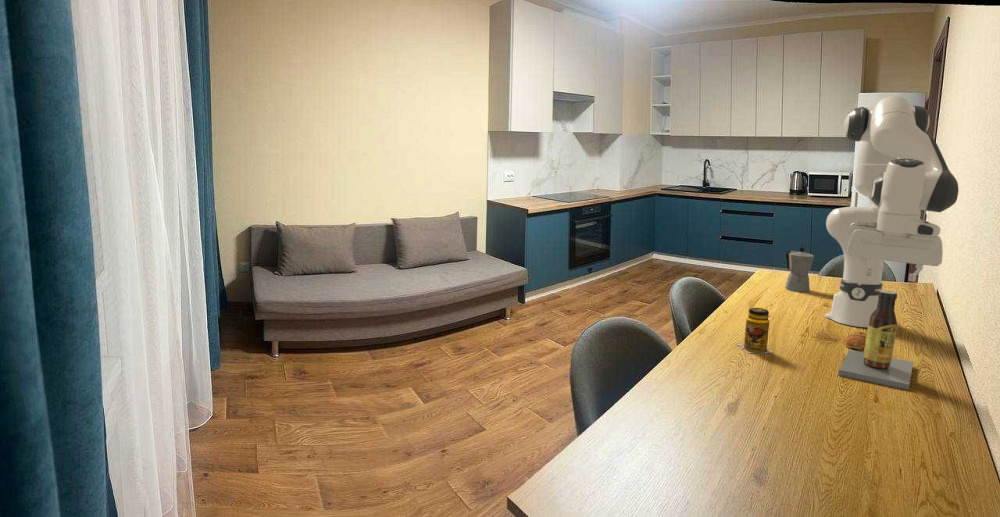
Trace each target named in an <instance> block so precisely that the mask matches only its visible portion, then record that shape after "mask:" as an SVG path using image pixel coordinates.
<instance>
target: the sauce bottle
mask: <svg viewBox="0 0 1000 517" xmlns="http://www.w3.org/2000/svg"><path fill="white" fill-rule="evenodd" d="M878 297H879V299H878V305H877V309H876V310H875V311H874V312H873V313H872V314H871V316H870V322H869V325H868V327H867V330H866V331H867V332H866V334H867V337H866V343H865V349H863V352H864V361H863V362H864V364H865V365H868V366H870V367H874V368H882V369H886V368H888V367H889V366H890V363H891V361H892V358H893V353H894V348H895V341H896V336H897V330H898V321H897V316H896V313H895V309H896V308H895V306H896V300H897V298H898V293H897V292H895V291H893V290H891V291H890V290H883V289H882V290H881V291H879V293H878Z"/></svg>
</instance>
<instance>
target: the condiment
mask: <svg viewBox="0 0 1000 517" xmlns="http://www.w3.org/2000/svg"><path fill="white" fill-rule="evenodd" d="M769 313H770V312H769V310H768V309H767V308H766V309H765V308H762V307H751V308H749V309H748V314H747V317H746V322H745V329H744V330H745V331H744V342H743V343H735V344H736V345H737V346H739V348H740V349H742V348H743V346H744V349H742V350H743V351H745V350H746V351H745V352H746V353H748V354H774V353H773V351H772V350H770V349H768V339H769V330H770V328H769V327H770V320H769V317H770V316H769ZM747 351H748V352H747Z"/></svg>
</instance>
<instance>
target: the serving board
mask: <svg viewBox="0 0 1000 517" xmlns="http://www.w3.org/2000/svg"><path fill="white" fill-rule="evenodd" d="M863 361H864V351H860V350H853V349H848V352H847V354H846V355H845V357H844V359H843V361H842V363H841V364H840V367H839V369H838V374H837V376H839V377H845V378H848V379H854V380H858V381H864V382H867V383H872V384H877V385H882V386H887V387H892V388H895V389H901V390H904V391H905V390H906V391H909V389H910V383H911V379H912V372H913V366H914V361H911V360H910V361H909V360H906V359H900V358H895V357H892V361H891V363H890V366H889V367H888V368H886V369H882V368H874V367H870V366H868V365H865V364H864V362H863Z"/></svg>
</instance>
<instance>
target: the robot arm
mask: <svg viewBox="0 0 1000 517" xmlns="http://www.w3.org/2000/svg"><path fill="white" fill-rule="evenodd" d="M930 120H931V118H930V114H929V111H928V110H927V108H926V107H924V106H919V105H912V106H911V104H910V102H909V101H908V99H906V98H904V97H902V96H898V95H892V96H886V97H885V98H882V99H880V100H879V101H878V102H877V103H876V104H875V105H874V106H868V107H865V106H860V107H855V108H853V109H851V110H849V111H848V114H847V116H846V117H845V120H844V123H843V130H844V133H845V137H846V138H847V140H850V141H853V142H860V141H861V144H860V147H859V152H858V154H857V155H858V156H857V162H856V168H855V169H856V170H855V178H854V186H855V189H856V191H858V193H860V194H862V196H865V197H867V198H868V199H869V202H870V207H868V206H846V207H845V206H844V207H839V208H834V209H832V211H830V212H829V214H828V215H827V217H826V221H825V226H826V230H827V232H828V234H829V235H830V236H831V237H832V238H833V239H834V240H836V241H837V243H838V244H839V245H840V248H841V249H842V253H843V272H842V278H841V279H840V283H839V285H840V286H839V291H838V292H836V293H835V294H834V295H833V299H832V306H831V311H829V312H827V313H825V314H824V318H826V319H830V320H833V321H834V322H836V323H839V324H843V325H846V326H852V327H858V328H868V325H869V322H870V316H871V314H872V313H873V312H874V311H875V310H876V309H877V305H878V299H879V297H878V293H879V291H881V290H883V283H882V277H883V271H884V264H885V263H884V261H886V262H894V263H895V262H896V263H905V264H912V265H915V269H916V270H915V271H914V272H913V273H910V272H909V274H908V280H907V281H908V282H913V283H916V278H917V275H919V274H920V273H921V272H922V270H923V268H924V266H930V267H939V266H940V265H942V262H943V249H944V248H943V241H942V238H941V237H940V236H939V235H940V234H941V230H942V229H941V227H940V225H938V224H935V223H932V222H929V221H926V220H923V219H921V213H922V211H926V212H934V213H942V212H944V211H946V210H948V209H949V208H951V207H953V205H955V204H956V202H957V201H958V200H957V199H958V197H959V183H958V180H957V178H956V177H955V175H953V173H952V172H951V171H950V170H949V167H948V165H947V162H946V160H945V158H944V156H943V154H942V152H941V150H940V147H939V146H938V144H937V142H936V140H935V139H934V137H933V136H932V135H929V134H928V133H927V131H928V129H929V126H930V122H931V121H930Z"/></svg>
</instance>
